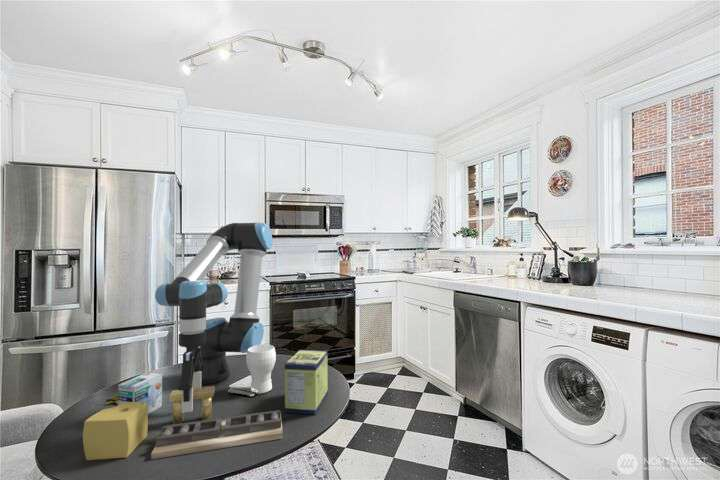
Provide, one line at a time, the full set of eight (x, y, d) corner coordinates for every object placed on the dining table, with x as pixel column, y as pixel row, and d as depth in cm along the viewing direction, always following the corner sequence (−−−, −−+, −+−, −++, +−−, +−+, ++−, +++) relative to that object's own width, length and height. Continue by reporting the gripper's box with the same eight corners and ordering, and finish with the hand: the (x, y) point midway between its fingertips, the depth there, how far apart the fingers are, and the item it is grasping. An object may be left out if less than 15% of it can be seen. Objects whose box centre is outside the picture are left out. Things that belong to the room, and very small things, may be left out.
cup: (267, 396, 118) (267, 353, 118) (240, 394, 120) (240, 352, 120) (280, 384, 128) (280, 344, 129) (255, 382, 130) (255, 343, 131)
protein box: (328, 393, 120) (327, 350, 120) (316, 415, 105) (315, 365, 105) (300, 391, 122) (300, 348, 122) (284, 413, 106) (283, 363, 107)
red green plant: (96, 409, 110) (96, 395, 110) (113, 394, 122) (113, 381, 122) (137, 405, 113) (137, 391, 113) (150, 390, 125) (150, 378, 125)
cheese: (109, 438, 93) (109, 402, 93) (150, 436, 94) (150, 400, 94) (81, 462, 83) (82, 421, 83) (127, 459, 84) (127, 419, 84)
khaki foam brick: (172, 420, 102) (172, 390, 103) (214, 414, 106) (214, 385, 106) (169, 425, 99) (169, 395, 99) (212, 419, 102) (212, 390, 103)
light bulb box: (134, 422, 101) (134, 386, 102) (116, 419, 103) (116, 384, 103) (163, 405, 112) (163, 373, 112) (146, 403, 113) (146, 371, 114)
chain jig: (164, 433, 95) (165, 420, 95) (280, 417, 104) (280, 405, 104) (151, 459, 83) (151, 444, 84) (282, 438, 92) (282, 424, 92)
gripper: (188, 323, 114) (187, 386, 113) (167, 343, 90) (166, 423, 89) (212, 322, 116) (211, 384, 115) (198, 341, 92) (197, 419, 91)
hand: (192, 401), depth 102 cm, fingers open, 13 cm apart
